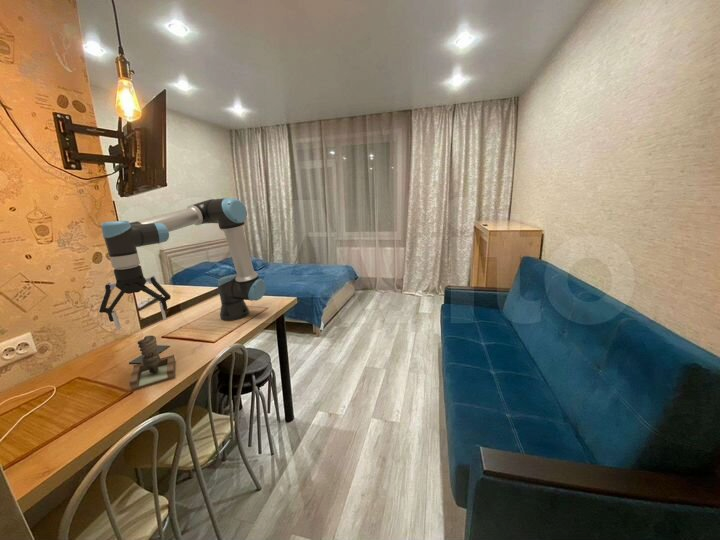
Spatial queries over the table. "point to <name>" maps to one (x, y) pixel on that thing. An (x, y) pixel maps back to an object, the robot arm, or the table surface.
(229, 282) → the robot arm
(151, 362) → the stone figurine
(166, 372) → the brown picture frame
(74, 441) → the table surface
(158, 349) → the smartphone
